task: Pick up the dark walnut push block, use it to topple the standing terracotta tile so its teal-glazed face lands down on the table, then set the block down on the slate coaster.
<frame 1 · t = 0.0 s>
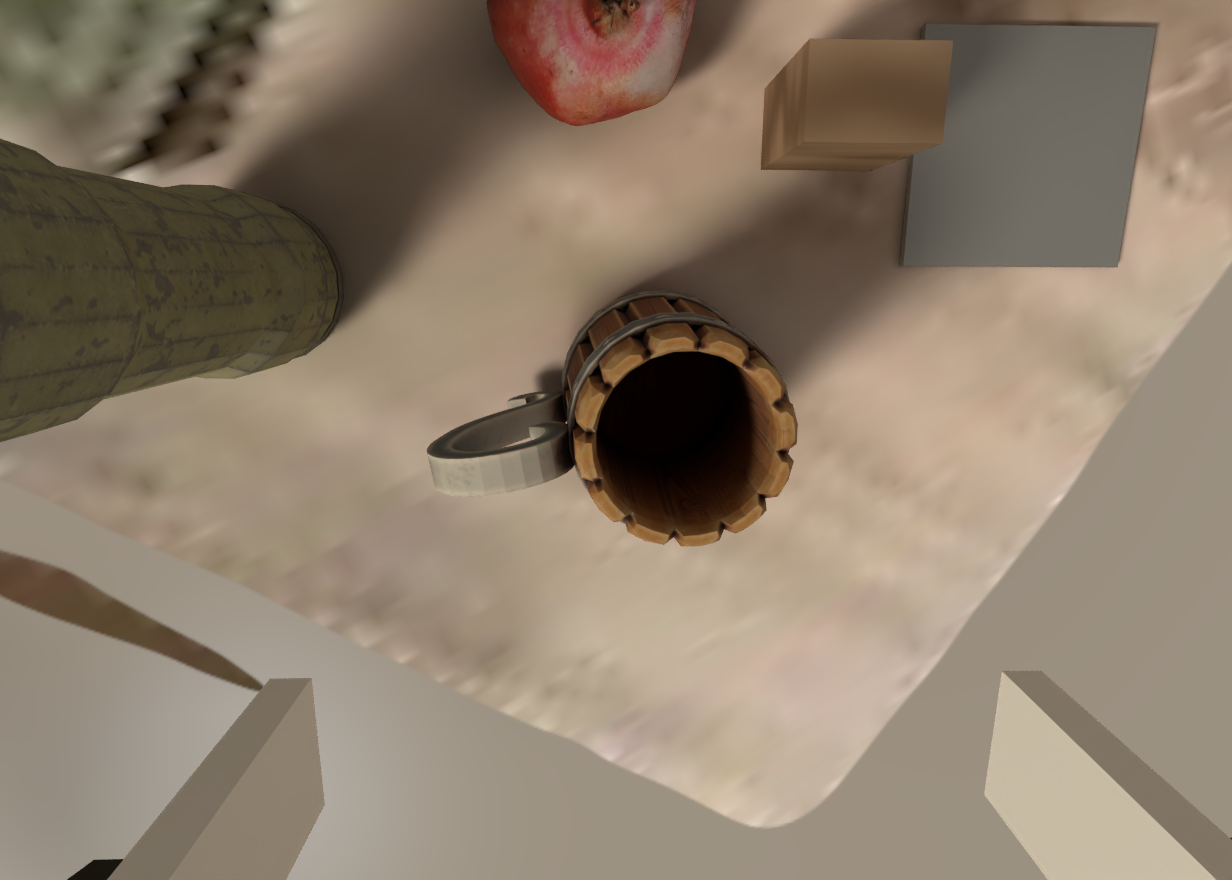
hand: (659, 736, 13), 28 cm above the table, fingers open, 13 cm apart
fruit: (592, 45, 36), on the table
mug: (611, 390, 40), on the table
push block: (818, 130, 37), on the table
coaster: (1020, 152, 38), on the table
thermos: (264, 281, 38), on the table
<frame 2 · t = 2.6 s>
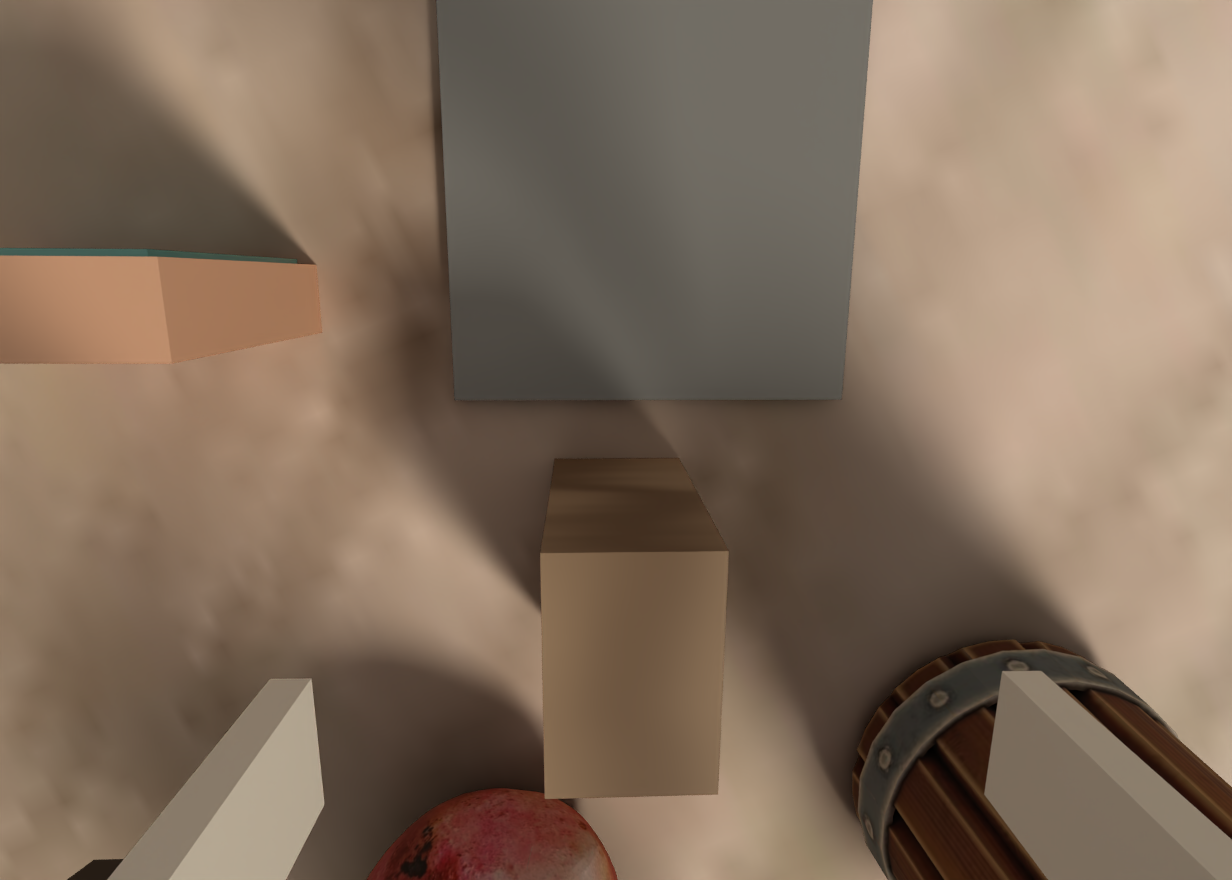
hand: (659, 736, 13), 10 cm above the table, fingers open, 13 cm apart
tile: (183, 298, 21), on the table
fruit: (506, 850, 26), on the table
mug: (984, 813, 27), on the table
push block: (616, 545, 23), on the table
coaster: (652, 197, 21), on the table
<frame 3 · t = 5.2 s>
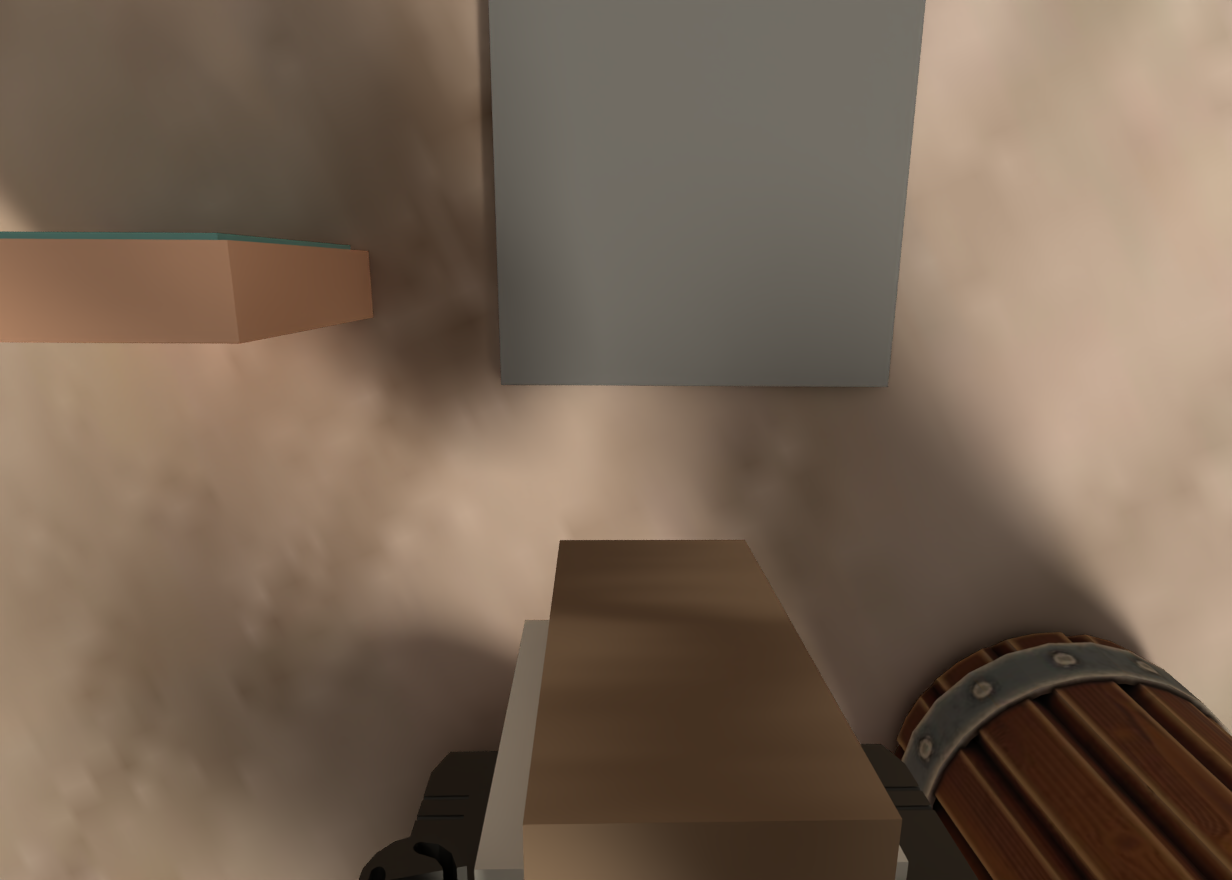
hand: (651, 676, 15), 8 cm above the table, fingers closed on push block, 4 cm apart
tile: (241, 283, 22), on the table
mug: (1025, 807, 26), on the table
push block: (649, 665, 16), point 8 cm above the table, touching gripper
coaster: (699, 183, 21), on the table
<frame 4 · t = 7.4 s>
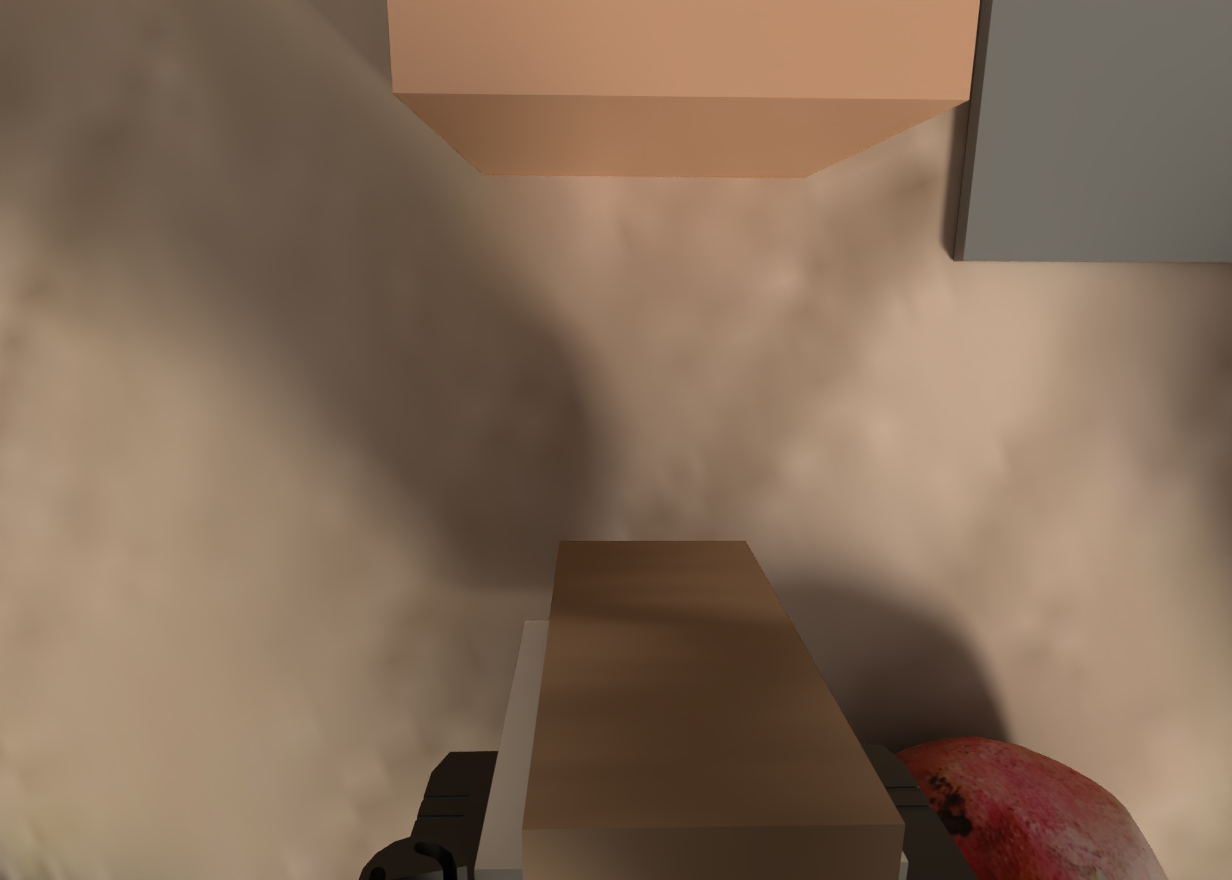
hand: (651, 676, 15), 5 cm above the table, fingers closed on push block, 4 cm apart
tile: (645, 133, 17), on the table
fruit: (919, 814, 22), on the table
push block: (650, 666, 16), point 4 cm above the table, touching gripper
coaster: (1227, 5, 17), on the table
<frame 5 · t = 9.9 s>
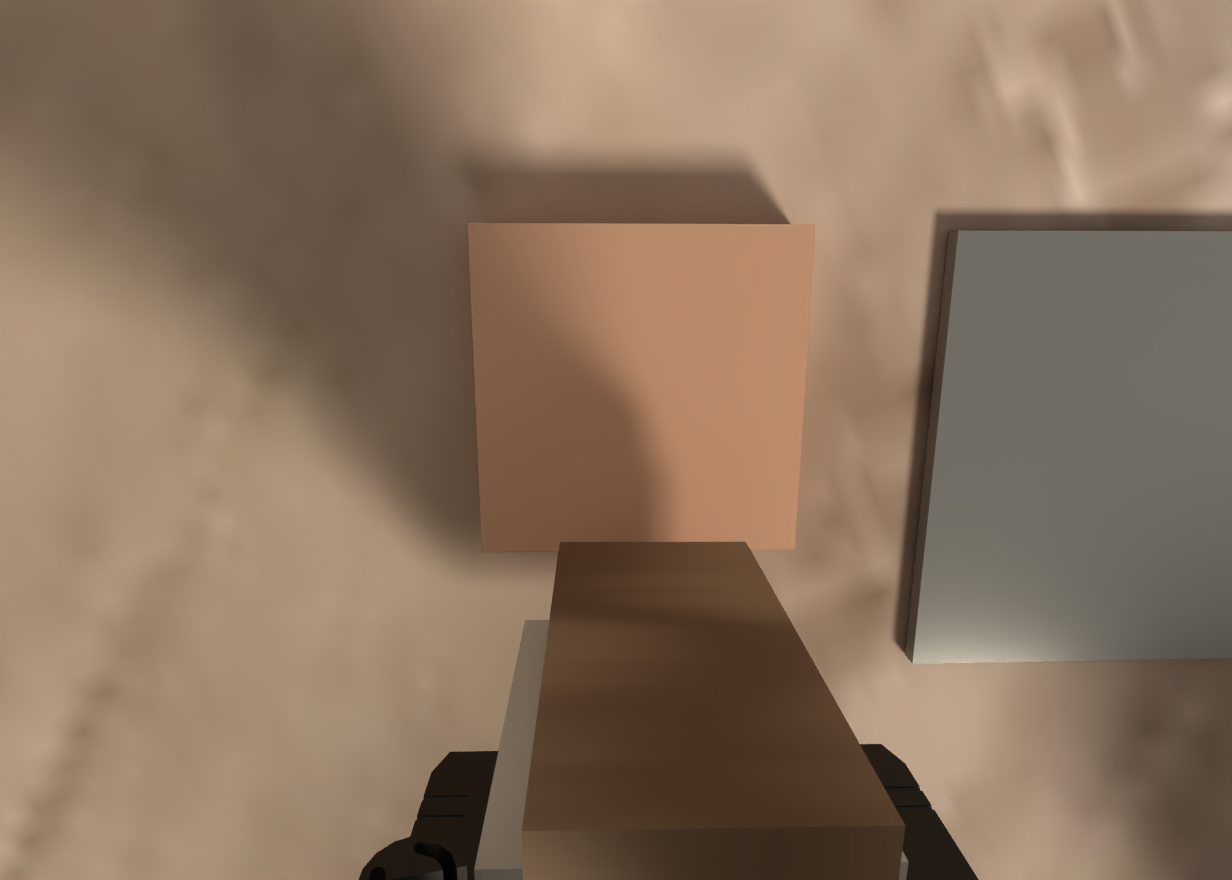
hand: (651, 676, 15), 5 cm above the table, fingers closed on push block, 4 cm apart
tile: (637, 536, 19), point 1 cm above the table, tilted 90°
push block: (650, 667, 16), point 4 cm above the table, touching gripper
coaster: (1137, 456, 20), on the table
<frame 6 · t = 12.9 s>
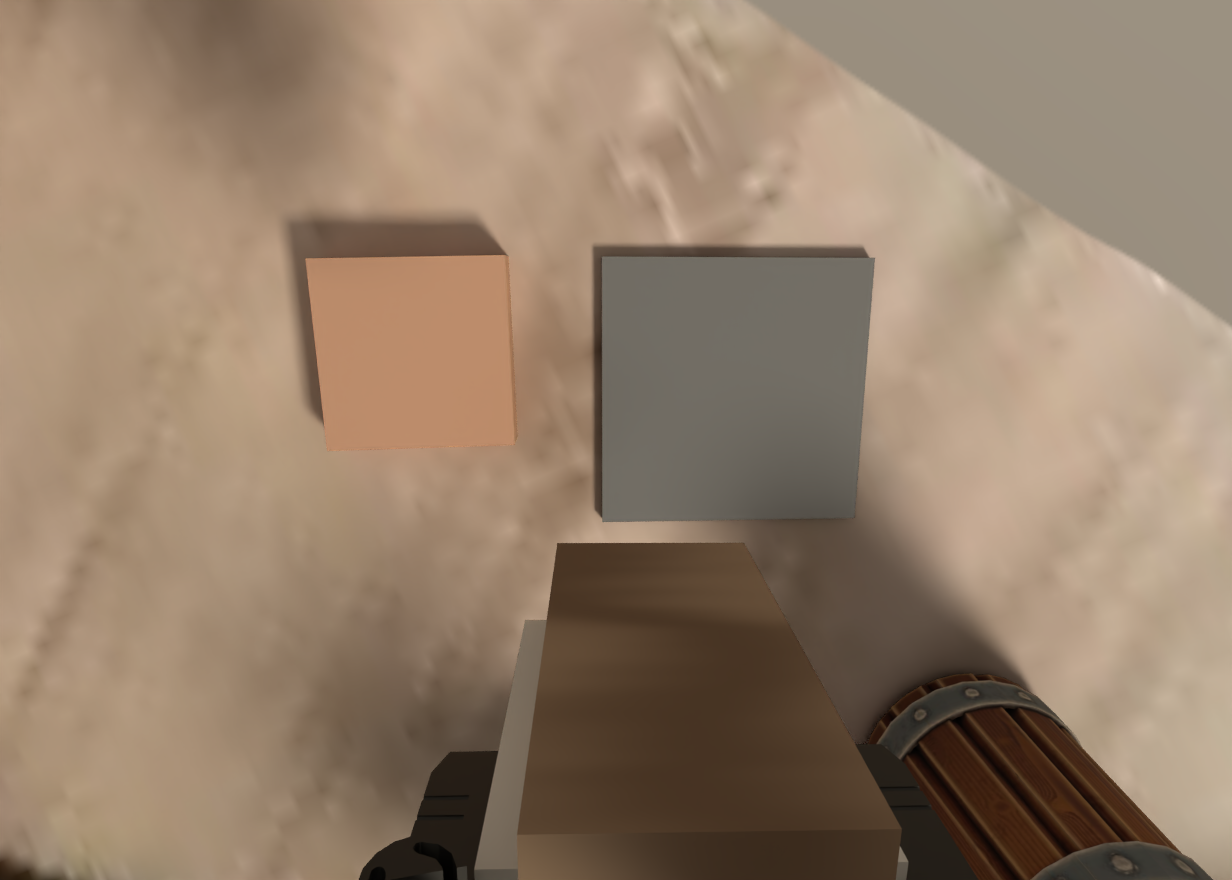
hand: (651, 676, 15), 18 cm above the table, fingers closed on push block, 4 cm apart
tile: (426, 442, 31), point 1 cm above the table, tilted 90°
mug: (954, 794, 38), on the table
push block: (648, 668, 16), point 17 cm above the table, touching gripper
coaster: (732, 392, 32), on the table
when the fingers open (2 cm above the table, at t = 15.9 s): push block stays where it is, resting on coaster.
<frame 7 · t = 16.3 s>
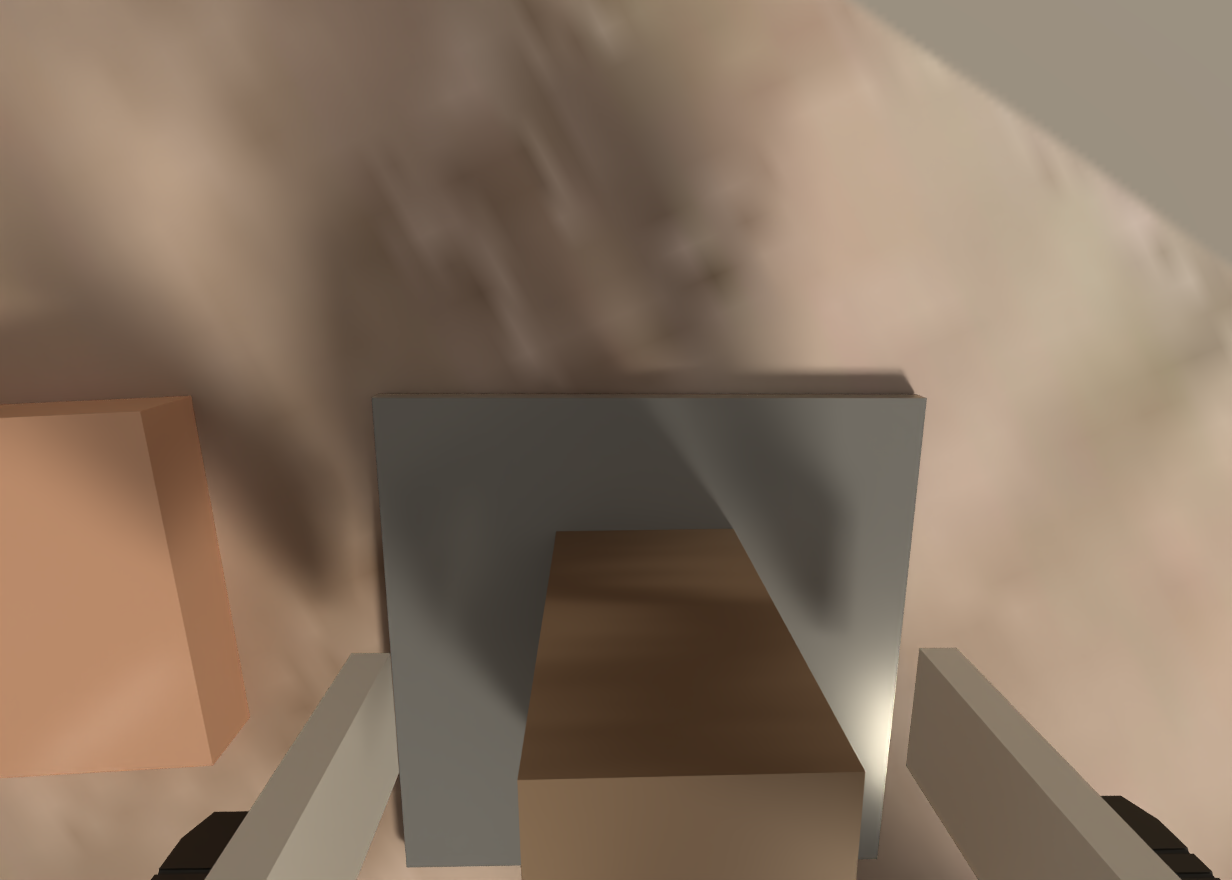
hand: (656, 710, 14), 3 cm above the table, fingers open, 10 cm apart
tile: (62, 746, 16), point 1 cm above the table, tilted 90°
push block: (644, 650, 17), resting on coaster
coaster: (646, 639, 17), on the table
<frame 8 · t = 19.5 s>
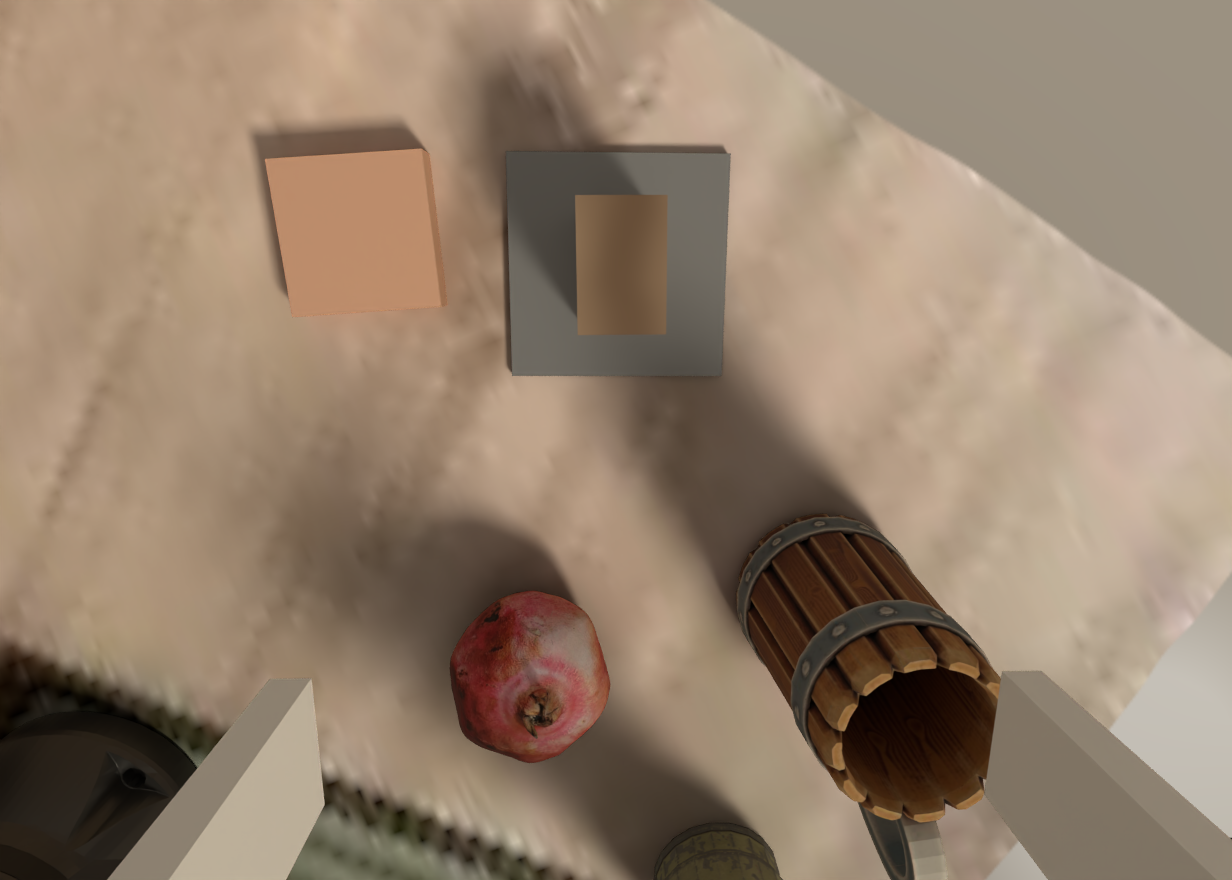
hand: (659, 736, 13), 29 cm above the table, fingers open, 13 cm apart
tile: (372, 310, 39), point 1 cm above the table, tilted 90°
fruit: (536, 639, 45), on the table
mug: (818, 623, 45), on the table
push block: (616, 268, 39), resting on coaster
coaster: (617, 268, 39), on the table
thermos: (714, 873, 49), on the table
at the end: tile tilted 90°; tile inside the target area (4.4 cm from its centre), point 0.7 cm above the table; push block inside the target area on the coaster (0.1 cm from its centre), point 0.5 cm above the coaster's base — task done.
